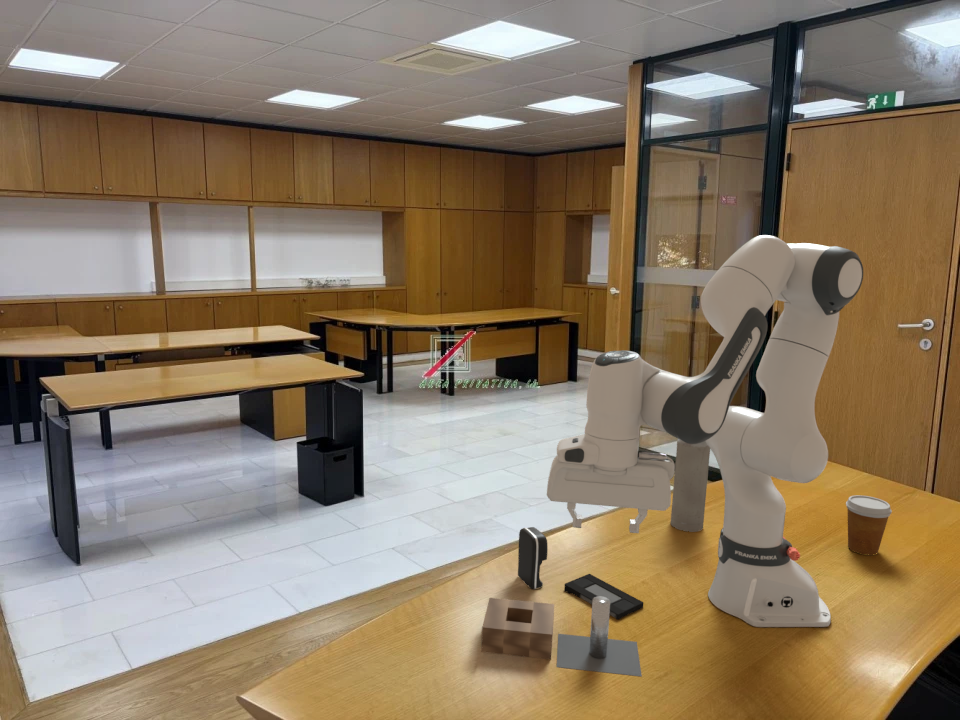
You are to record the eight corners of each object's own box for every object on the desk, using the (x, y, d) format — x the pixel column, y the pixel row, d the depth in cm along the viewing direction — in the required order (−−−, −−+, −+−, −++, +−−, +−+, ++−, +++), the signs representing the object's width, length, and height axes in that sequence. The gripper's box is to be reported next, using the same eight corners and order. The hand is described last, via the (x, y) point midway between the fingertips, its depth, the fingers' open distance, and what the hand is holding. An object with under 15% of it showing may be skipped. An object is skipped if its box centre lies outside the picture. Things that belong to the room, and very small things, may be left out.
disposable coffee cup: (842, 553, 162) (848, 505, 160) (838, 538, 171) (844, 492, 169) (888, 561, 159) (895, 512, 156) (882, 545, 167) (888, 498, 165)
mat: (636, 643, 124) (636, 641, 123) (641, 678, 114) (641, 676, 114) (558, 635, 125) (558, 633, 125) (556, 669, 116) (556, 666, 116)
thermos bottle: (675, 516, 181) (684, 413, 176) (706, 523, 177) (716, 418, 172) (666, 526, 175) (675, 419, 170) (698, 534, 170) (707, 425, 166)
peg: (606, 649, 121) (609, 597, 119) (607, 660, 118) (610, 606, 116) (589, 648, 121) (592, 595, 119) (589, 658, 118) (592, 604, 116)
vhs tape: (617, 624, 131) (618, 614, 130) (563, 592, 142) (564, 583, 141) (642, 611, 135) (643, 602, 135) (588, 582, 146) (589, 573, 146)
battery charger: (548, 588, 142) (550, 536, 140) (531, 591, 141) (534, 539, 139) (532, 572, 149) (534, 523, 147) (516, 575, 147) (518, 525, 145)
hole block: (553, 629, 127) (554, 604, 127) (550, 661, 118) (552, 634, 117) (488, 622, 129) (489, 597, 128) (481, 653, 119) (482, 627, 118)
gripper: (673, 449, 115) (666, 527, 117) (550, 439, 118) (546, 516, 120) (678, 460, 109) (671, 542, 111) (548, 450, 111) (544, 531, 114)
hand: (605, 529), depth 116 cm, fingers open, 8 cm apart
